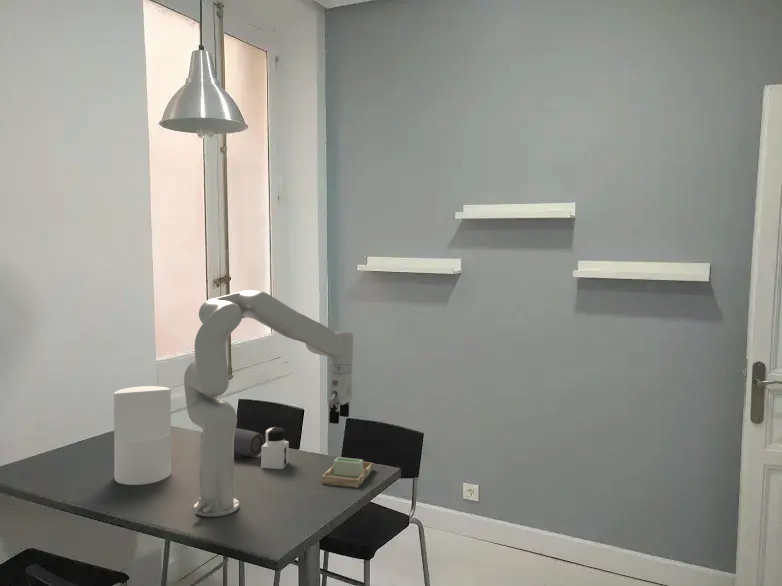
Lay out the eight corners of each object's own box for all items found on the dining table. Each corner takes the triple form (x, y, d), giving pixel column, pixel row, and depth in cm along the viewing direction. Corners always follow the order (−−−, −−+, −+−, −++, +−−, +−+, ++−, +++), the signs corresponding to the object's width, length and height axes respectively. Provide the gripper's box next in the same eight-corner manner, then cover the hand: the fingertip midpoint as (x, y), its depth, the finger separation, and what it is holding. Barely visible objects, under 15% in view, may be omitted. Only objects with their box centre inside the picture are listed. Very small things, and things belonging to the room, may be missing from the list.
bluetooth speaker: (199, 453, 224) (199, 426, 224) (216, 446, 233) (216, 421, 232) (248, 463, 215) (249, 435, 214) (264, 455, 223) (265, 429, 223)
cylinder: (113, 470, 204) (112, 388, 203) (167, 463, 212) (167, 384, 211) (116, 488, 189) (115, 399, 188) (174, 480, 197) (174, 394, 196)
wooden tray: (358, 487, 193) (358, 480, 193) (321, 483, 196) (321, 476, 196) (373, 469, 210) (373, 462, 210) (339, 466, 213) (339, 459, 213)
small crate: (359, 478, 200) (359, 463, 200) (333, 475, 202) (333, 460, 202) (362, 474, 204) (363, 459, 204) (337, 471, 206) (337, 457, 206)
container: (288, 462, 216) (289, 426, 216) (282, 469, 209) (283, 432, 208) (267, 461, 217) (267, 425, 217) (260, 468, 210) (261, 431, 209)
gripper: (342, 373, 192) (341, 427, 192) (359, 365, 208) (358, 415, 209) (320, 371, 194) (318, 424, 194) (339, 364, 210) (337, 413, 211)
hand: (339, 419), depth 202 cm, fingers open, 9 cm apart
